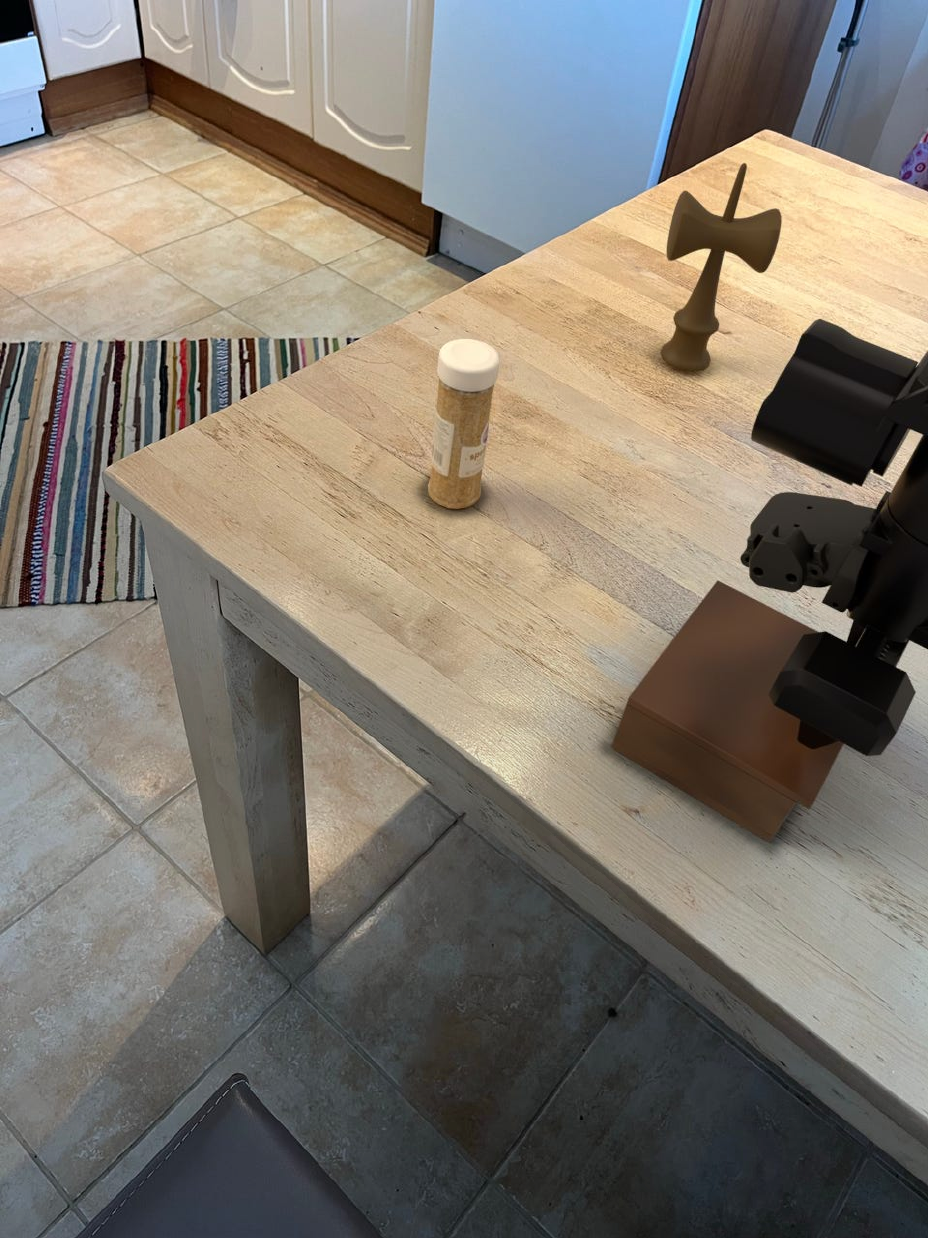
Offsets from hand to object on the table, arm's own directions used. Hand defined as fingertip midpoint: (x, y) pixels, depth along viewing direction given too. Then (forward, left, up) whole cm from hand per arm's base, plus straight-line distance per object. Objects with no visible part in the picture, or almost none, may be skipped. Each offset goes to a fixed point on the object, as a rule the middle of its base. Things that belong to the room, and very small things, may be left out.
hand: (827, 704), depth 59 cm
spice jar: (+32, -14, -7) cm, 35 cm away
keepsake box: (+5, -1, -6) cm, 8 cm away
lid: (+4, -1, -2) cm, 5 cm away
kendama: (+20, -45, -7) cm, 49 cm away
